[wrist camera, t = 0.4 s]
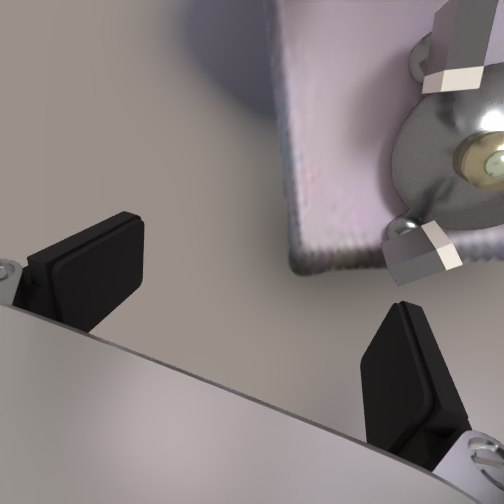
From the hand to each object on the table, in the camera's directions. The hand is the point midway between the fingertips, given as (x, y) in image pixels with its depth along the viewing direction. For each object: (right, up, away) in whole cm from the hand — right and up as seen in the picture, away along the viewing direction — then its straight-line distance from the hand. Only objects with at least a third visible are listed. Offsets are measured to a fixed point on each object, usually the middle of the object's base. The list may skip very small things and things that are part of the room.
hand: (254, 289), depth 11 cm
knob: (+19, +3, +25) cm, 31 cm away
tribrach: (+22, +10, +22) cm, 33 cm away
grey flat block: (+17, +20, +17) cm, 31 cm away
